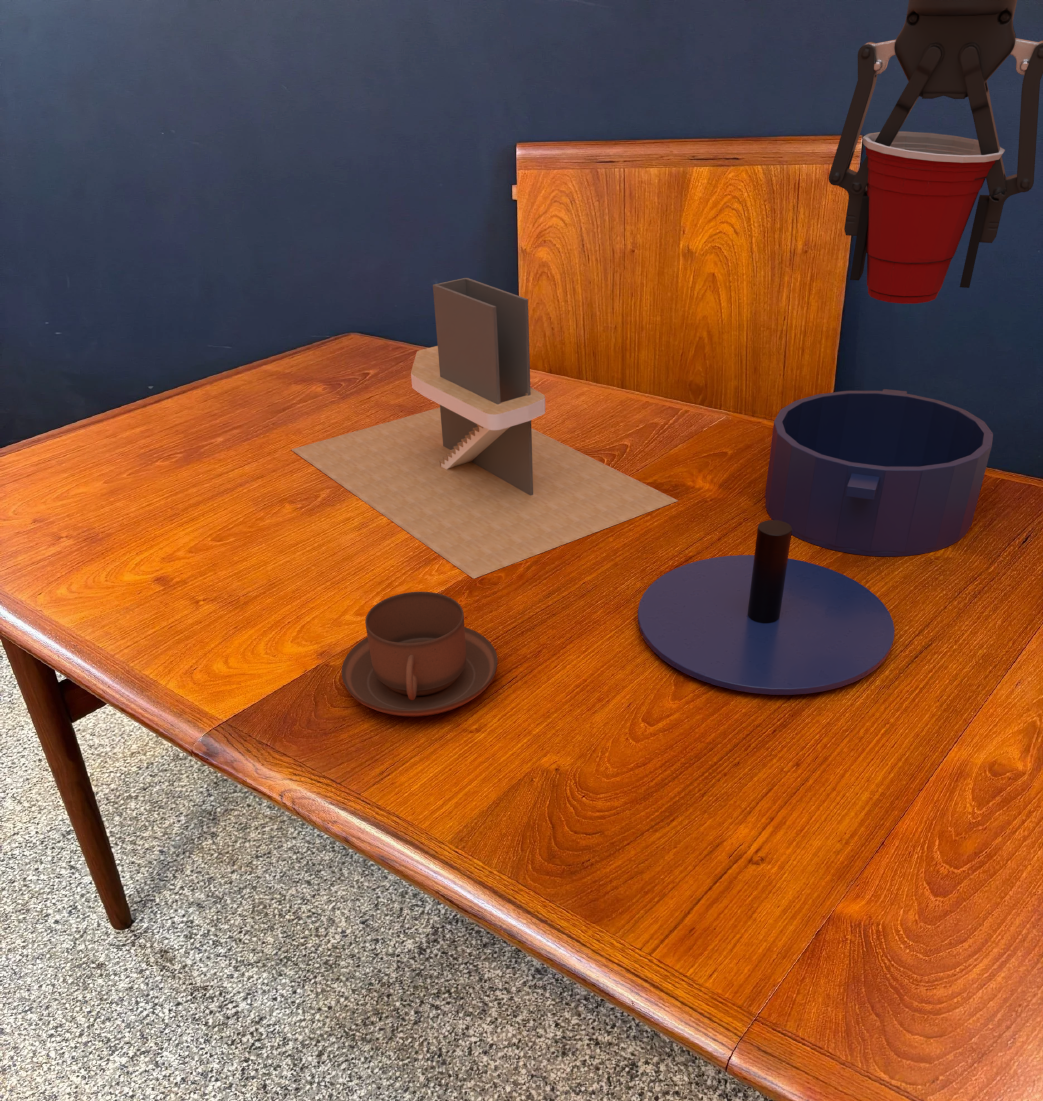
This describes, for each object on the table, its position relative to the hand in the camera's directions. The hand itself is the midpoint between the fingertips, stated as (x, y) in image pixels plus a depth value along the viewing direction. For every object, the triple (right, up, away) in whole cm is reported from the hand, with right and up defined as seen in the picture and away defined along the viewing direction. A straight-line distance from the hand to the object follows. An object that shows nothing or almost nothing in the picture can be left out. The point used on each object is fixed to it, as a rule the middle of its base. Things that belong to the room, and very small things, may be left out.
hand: (910, 279), depth 86 cm
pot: (+1, -17, +14) cm, 22 cm away
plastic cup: (0, -1, +1) cm, 1 cm away
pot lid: (-13, -29, -3) cm, 32 cm away
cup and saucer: (-41, -35, -7) cm, 54 cm away
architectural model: (-39, -11, +24) cm, 47 cm away
